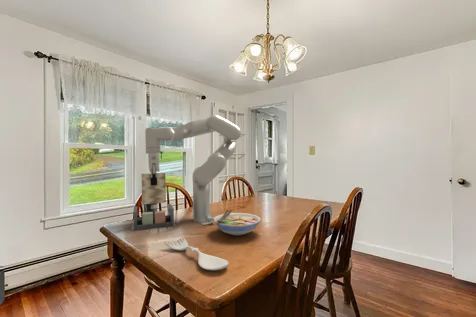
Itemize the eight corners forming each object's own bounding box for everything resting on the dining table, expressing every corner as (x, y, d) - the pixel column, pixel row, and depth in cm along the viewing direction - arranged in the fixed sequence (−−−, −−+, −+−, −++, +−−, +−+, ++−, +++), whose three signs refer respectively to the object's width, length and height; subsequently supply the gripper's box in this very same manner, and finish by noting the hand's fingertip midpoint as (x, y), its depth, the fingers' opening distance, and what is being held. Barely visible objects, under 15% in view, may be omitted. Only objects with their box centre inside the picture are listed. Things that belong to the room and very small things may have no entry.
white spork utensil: (183, 243, 101) (183, 235, 101) (234, 268, 78) (234, 258, 78) (163, 249, 95) (163, 241, 95) (213, 278, 72) (213, 267, 72)
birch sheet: (165, 201, 129) (164, 172, 129) (165, 202, 127) (165, 173, 127) (142, 203, 124) (141, 173, 124) (142, 204, 122) (141, 174, 122)
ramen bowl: (257, 244, 99) (257, 225, 99) (206, 240, 103) (206, 222, 103) (262, 227, 123) (262, 211, 123) (221, 224, 128) (221, 209, 128)
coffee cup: (147, 222, 132) (147, 196, 132) (138, 219, 138) (138, 194, 138) (162, 218, 140) (162, 194, 140) (153, 216, 146) (153, 192, 145)
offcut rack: (172, 221, 133) (172, 203, 133) (175, 228, 120) (175, 208, 120) (132, 226, 125) (132, 206, 125) (131, 234, 112) (131, 212, 112)
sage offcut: (152, 225, 122) (152, 211, 122) (153, 227, 118) (152, 213, 118) (142, 226, 120) (142, 212, 120) (142, 228, 117) (142, 214, 116)
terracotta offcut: (164, 223, 124) (164, 210, 124) (165, 225, 121) (165, 212, 121) (154, 224, 123) (154, 211, 122) (155, 226, 119) (155, 213, 119)
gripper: (161, 150, 119) (162, 186, 120) (159, 151, 134) (160, 182, 134) (146, 150, 116) (146, 187, 117) (145, 151, 131) (146, 183, 131)
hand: (153, 184), depth 125 cm, fingers closed on birch sheet, 2 cm apart
